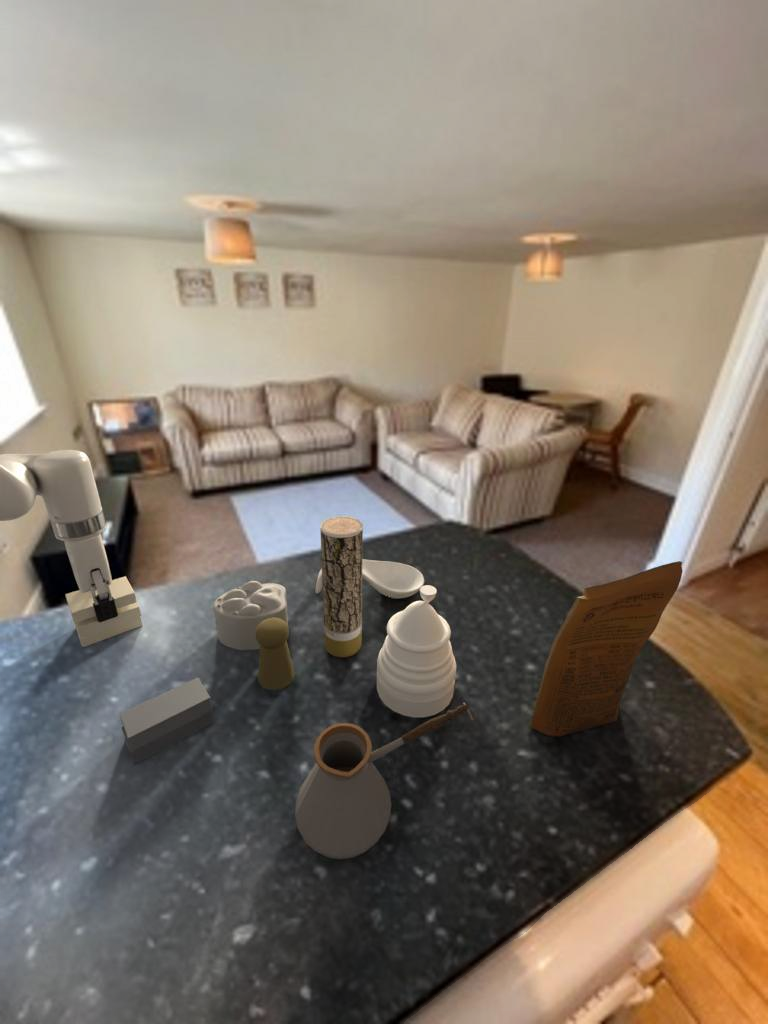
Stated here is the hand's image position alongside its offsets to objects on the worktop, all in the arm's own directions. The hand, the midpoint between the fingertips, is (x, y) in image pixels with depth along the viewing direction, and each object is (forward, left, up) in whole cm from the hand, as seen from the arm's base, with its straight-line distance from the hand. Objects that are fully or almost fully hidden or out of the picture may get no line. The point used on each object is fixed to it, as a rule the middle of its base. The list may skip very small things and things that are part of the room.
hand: (103, 607), depth 84 cm
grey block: (+2, -31, -4) cm, 31 cm away
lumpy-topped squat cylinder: (+21, -18, -5) cm, 28 cm away
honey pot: (+36, -47, -5) cm, 59 cm away
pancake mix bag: (+51, -68, -5) cm, 85 cm away
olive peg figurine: (+19, -31, -5) cm, 37 cm away
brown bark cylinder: (+32, -32, -5) cm, 46 cm away
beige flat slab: (0, 0, +1) cm, 1 cm away
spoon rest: (+47, -21, -5) cm, 52 cm away
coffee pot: (+19, -59, -5) cm, 62 cm away
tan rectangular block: (0, 0, -4) cm, 4 cm away
